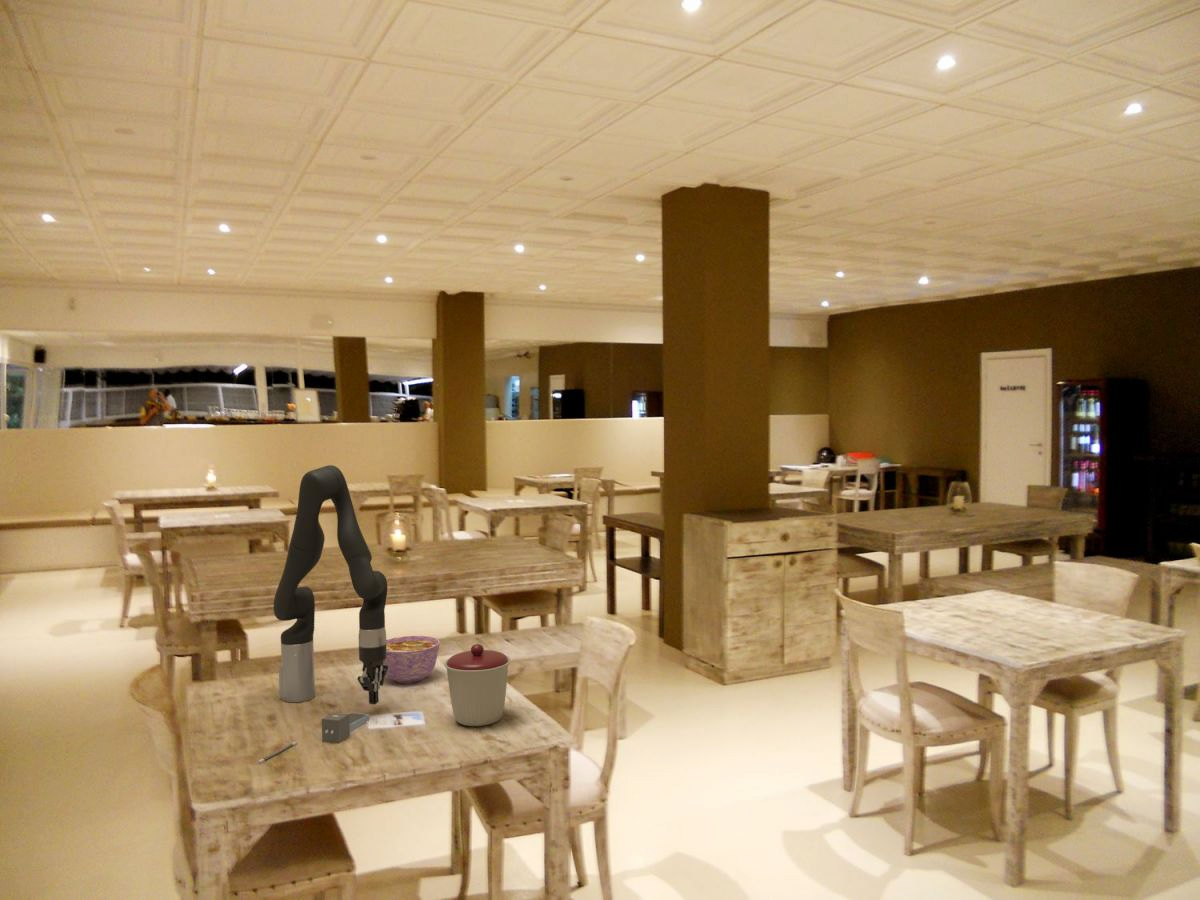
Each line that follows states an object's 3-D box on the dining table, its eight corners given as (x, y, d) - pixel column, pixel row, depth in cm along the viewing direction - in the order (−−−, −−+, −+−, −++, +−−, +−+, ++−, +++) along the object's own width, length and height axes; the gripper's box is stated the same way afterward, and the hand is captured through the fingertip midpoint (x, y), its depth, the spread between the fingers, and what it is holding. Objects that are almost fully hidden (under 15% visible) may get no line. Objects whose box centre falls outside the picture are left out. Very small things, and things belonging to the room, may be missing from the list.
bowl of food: (373, 674, 280) (372, 639, 280) (435, 667, 287) (434, 633, 287) (380, 692, 261) (379, 654, 261) (446, 684, 269) (445, 647, 268)
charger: (320, 742, 221) (319, 719, 221) (333, 734, 227) (332, 712, 226) (337, 744, 220) (336, 721, 220) (349, 736, 225) (349, 713, 225)
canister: (525, 716, 238) (523, 641, 237) (481, 737, 223) (480, 656, 222) (476, 705, 248) (474, 633, 247) (431, 724, 233) (429, 647, 232)
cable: (260, 763, 208) (260, 760, 208) (258, 762, 209) (258, 760, 209) (296, 744, 220) (296, 741, 220) (294, 743, 221) (294, 741, 221)
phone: (325, 733, 229) (325, 725, 229) (351, 720, 239) (351, 712, 239) (343, 736, 226) (343, 728, 226) (369, 722, 237) (369, 714, 237)
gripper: (371, 650, 234) (373, 712, 235) (396, 637, 247) (397, 697, 248) (347, 648, 236) (349, 710, 237) (373, 636, 249) (374, 694, 250)
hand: (373, 703), depth 242 cm, fingers closed
